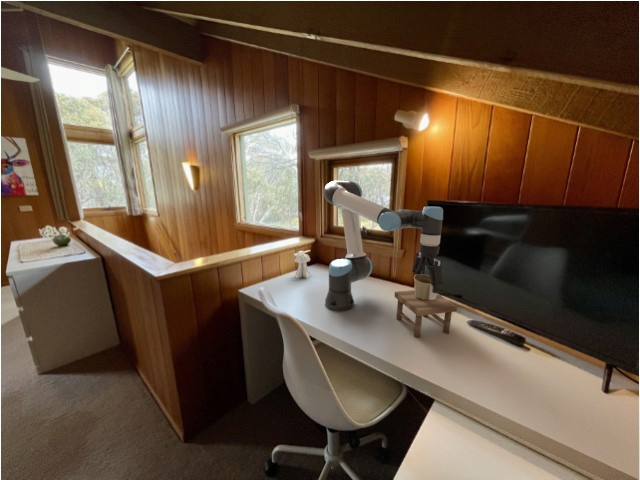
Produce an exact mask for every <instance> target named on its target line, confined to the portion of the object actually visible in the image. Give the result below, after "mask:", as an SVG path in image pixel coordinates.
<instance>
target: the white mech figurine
mask: <svg viewBox="0 0 640 480" xmlns="http://www.w3.org/2000/svg"><path fill="white" fill-rule="evenodd" d="M308 252H311V249H308V250H305V251H304V250H298V251H297V252H292V256H294V257H295V258H294V262H295V263H297V264H298V267H297V270H296V271H295V276H294V278H295V279H300V278H302V277H303V278H306V279H309V278H310V274H311V273H310V271H309V269H308V265H307V263H308V262H310V261H311V258H310V255H308V254H306V253H308Z"/></svg>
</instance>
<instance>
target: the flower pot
mask: <svg viewBox="0 0 640 480" xmlns="http://www.w3.org/2000/svg"><path fill="white" fill-rule="evenodd" d="M413 279H414V286H415V289H414V290H415V296H416V297H417V298H419V299H422V300H425V299H427V300H428V299H429V294H430V285H431V284H432V281H431V277H430V274H429V275H428V274H423V273H421V274H417V275H415V274H414V276H413Z"/></svg>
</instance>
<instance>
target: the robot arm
mask: <svg viewBox="0 0 640 480" xmlns="http://www.w3.org/2000/svg"><path fill="white" fill-rule="evenodd" d="M323 197H324V199H325V201H326V202H328V203H329V204H331V205H333V206H335V207H338V209H339V210H340V211H341V216H342V222H343V223H342V224H343V233H344V238H345V244H346V252H347V253H346V255H345V258H341V259H339V258H338V259H334V260H332V261H331V262H330V263H329V267H328V291H327V293H326V297H325V301H324V302H325V303H324V305H325V307H326V308H327V309H330V310H331V311H337V312H346V311H349V310H352V309H353V308H354V306H355V300H354V296H353V292H352V284H353V283H356V282H358V281H361V280H364V279H366V278H368V277H369V276H370V275H371V274H372V272H373V263H372V261H371V259H370V258H369V257H368V256H367V253H366V252H364V248H363V241H362V235H361V227H360V219H359V216H360V217H363V218H365V219H367V220H369V221H371V222H373V223H375V224H377V225H379V228H380V229H381V230H383V231H385V232H394V231H397V230H402V229H409V228H411V229H413V228H414V229H420V238H419V239H420V241H419V243H420V244H419V248H418V251H419V252H415V260H414V262H413V266H412V270H411V272H412V273H414V276H415V275H417V274H423V271H424V269H425V267H427V269H428V271H429V276H430V277H431V281H432V284H431V285H430V294H429V299H430V300H433V299H436V294H438V291H439V290H438V289H439V286H443V271H442V264H443V262H442V260H439V259H437V256H438V255H439V253H440V252H439V251H440V244H441V237H442V236H441V235H442V228H443V226H442V225H443V220H444V209H443V207H441V206H424V207H423V209H422V210H414V209H413V210H412V209H406V208H405V209H404V208H403V209H401V208H400V209H397V211H396V210H392V209H390V208H387V207H385V206H383V205H381V204H378V203H376V202H373V201H371V200H369V199H366V198H364V197H363V190H362V188H361V186H360V184H359V183H357V182H356V181H352V180H333V181H330V182H329V183H327V184H326V185H325V187H324V190H323ZM413 290H415V285H414V288H413Z"/></svg>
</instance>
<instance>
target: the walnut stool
mask: <svg viewBox="0 0 640 480" xmlns="http://www.w3.org/2000/svg"><path fill="white" fill-rule="evenodd" d="M394 298H395V299H396V300H397V304H396V305H397V307H396V320H397V321H402V319H404V320H405V321H406V322H407V323H408V324H409V325H410V326H411V327H412V328H413V329H414V331H413V337H414V338H415V339H420V337H421V331H422V321H423V317H424V318H428V317H429V316H432V318H434V319H436V321H438V322H439V323H441V325H443V327H442V333H444V334H446V335H448V334H450V331H451V329H450V328H451V320H452V314H453V313H454V312H457V309H458V305H457V304H455V303H454V302H452V301H450V300H448V299H447V298H445V297H443V296H442V295H440V294H438V293H437V294H436V299H433V300H430V299H428V300H427V299H425V300H422V299H419V298H417V297H416V296H415V289H412V290H411V289H410V290H402V291H401V290H399V291H394ZM404 306H405V307H406V308H407V309H409V310H410V311H411V312H412V313H413V314H415V318H414V319H415V320H414V321H413V320H412V319H410V317H408V316H407V315H406V314H405V313H404V312H403V309H404ZM438 314H439V315H440V314H444V317H443V318H444V319H443V318H442V317H441V316H439V315H438Z"/></svg>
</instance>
